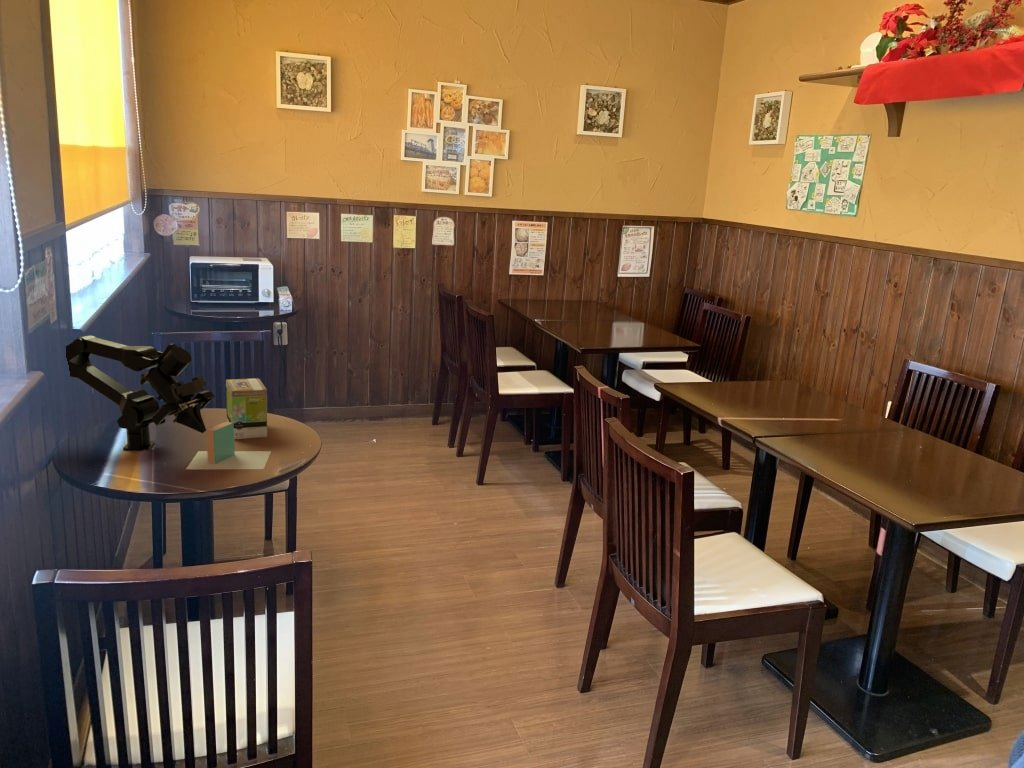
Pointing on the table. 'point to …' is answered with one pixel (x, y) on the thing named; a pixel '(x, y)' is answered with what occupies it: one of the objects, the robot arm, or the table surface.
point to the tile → (220, 442)
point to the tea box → (247, 407)
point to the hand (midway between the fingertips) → (204, 431)
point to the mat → (232, 461)
